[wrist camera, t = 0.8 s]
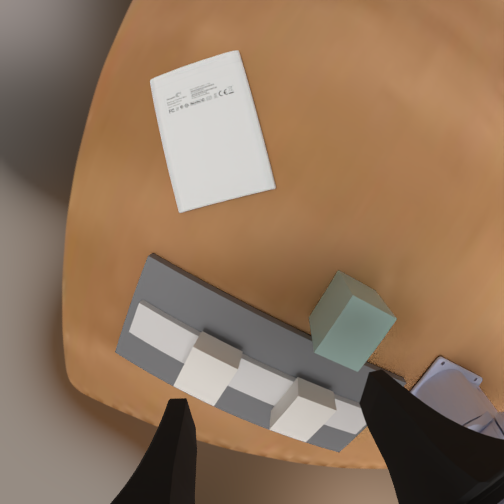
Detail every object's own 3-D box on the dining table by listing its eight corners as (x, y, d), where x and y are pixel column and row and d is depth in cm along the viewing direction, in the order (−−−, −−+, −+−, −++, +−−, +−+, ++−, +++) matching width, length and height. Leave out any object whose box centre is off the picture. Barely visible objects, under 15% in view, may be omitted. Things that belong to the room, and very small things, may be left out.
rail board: (403, 377, 26) (417, 404, 22) (338, 446, 29) (342, 474, 25) (153, 253, 26) (129, 266, 22) (119, 347, 29) (98, 369, 25)
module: (374, 290, 25) (396, 318, 19) (345, 335, 26) (357, 371, 20) (338, 269, 25) (352, 295, 19) (308, 317, 26) (313, 352, 20)
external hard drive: (184, 211, 26) (155, 84, 23) (276, 188, 24) (241, 55, 22) (177, 213, 24) (147, 79, 22) (276, 188, 23) (238, 48, 20)
